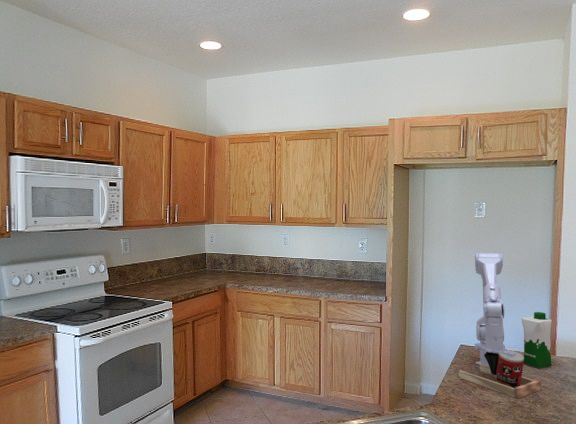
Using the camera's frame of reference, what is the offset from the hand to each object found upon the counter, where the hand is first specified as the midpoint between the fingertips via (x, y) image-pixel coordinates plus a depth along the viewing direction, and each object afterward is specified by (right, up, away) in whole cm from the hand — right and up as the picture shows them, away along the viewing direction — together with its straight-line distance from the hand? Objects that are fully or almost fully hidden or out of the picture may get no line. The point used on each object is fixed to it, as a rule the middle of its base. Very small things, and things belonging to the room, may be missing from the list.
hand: (494, 374), depth 161 cm
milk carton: (+25, -3, +17) cm, 30 cm away
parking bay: (+1, -3, -1) cm, 3 cm away
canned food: (+2, -2, -4) cm, 5 cm away
